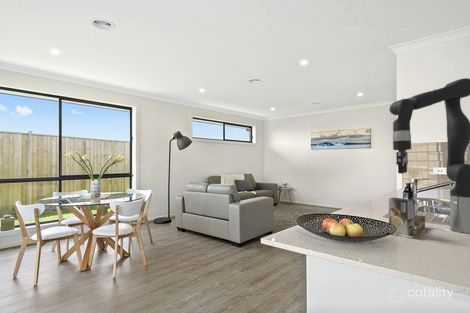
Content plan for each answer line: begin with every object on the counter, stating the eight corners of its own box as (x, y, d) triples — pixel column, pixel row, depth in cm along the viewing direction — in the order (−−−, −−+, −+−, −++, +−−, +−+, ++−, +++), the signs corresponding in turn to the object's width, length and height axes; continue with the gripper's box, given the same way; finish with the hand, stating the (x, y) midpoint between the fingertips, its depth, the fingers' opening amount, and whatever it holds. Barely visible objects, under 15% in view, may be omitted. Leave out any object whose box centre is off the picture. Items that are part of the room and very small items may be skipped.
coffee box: (415, 233, 120) (415, 199, 120) (408, 235, 117) (407, 200, 117) (395, 229, 128) (395, 197, 128) (388, 230, 125) (387, 198, 125)
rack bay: (425, 227, 133) (425, 215, 133) (416, 239, 113) (416, 225, 113) (395, 223, 142) (395, 212, 142) (382, 233, 122) (382, 220, 122)
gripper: (408, 139, 118) (409, 174, 118) (413, 140, 128) (414, 172, 128) (389, 140, 123) (390, 173, 123) (396, 141, 134) (396, 172, 133)
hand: (402, 173), depth 126 cm, fingers open, 8 cm apart
